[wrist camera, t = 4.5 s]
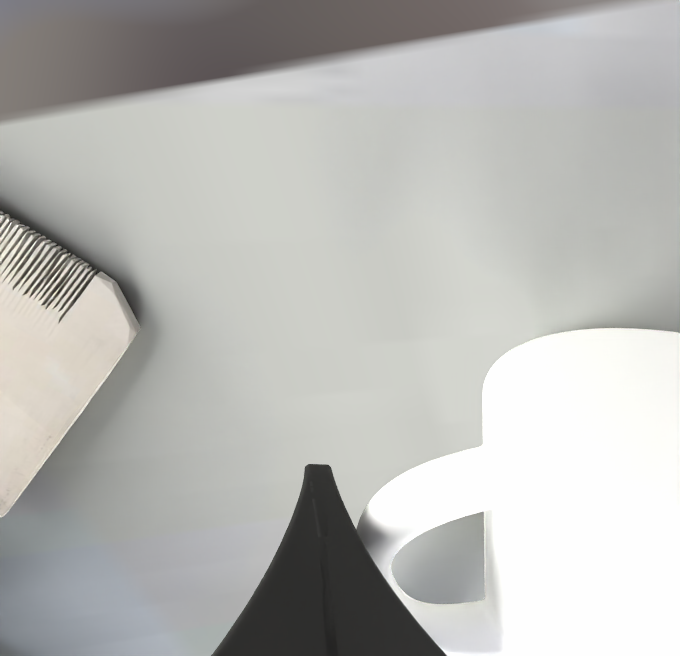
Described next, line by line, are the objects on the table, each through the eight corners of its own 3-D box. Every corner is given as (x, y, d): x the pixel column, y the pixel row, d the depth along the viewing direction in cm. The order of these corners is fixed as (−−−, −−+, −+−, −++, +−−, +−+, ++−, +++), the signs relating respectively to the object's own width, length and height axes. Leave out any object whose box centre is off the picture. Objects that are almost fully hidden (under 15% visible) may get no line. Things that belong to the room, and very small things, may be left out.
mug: (679, 309, 13) (1139, 493, 6) (636, 522, 17) (880, 793, 10) (326, 367, 13) (342, 624, 6) (363, 567, 17) (401, 872, 10)
